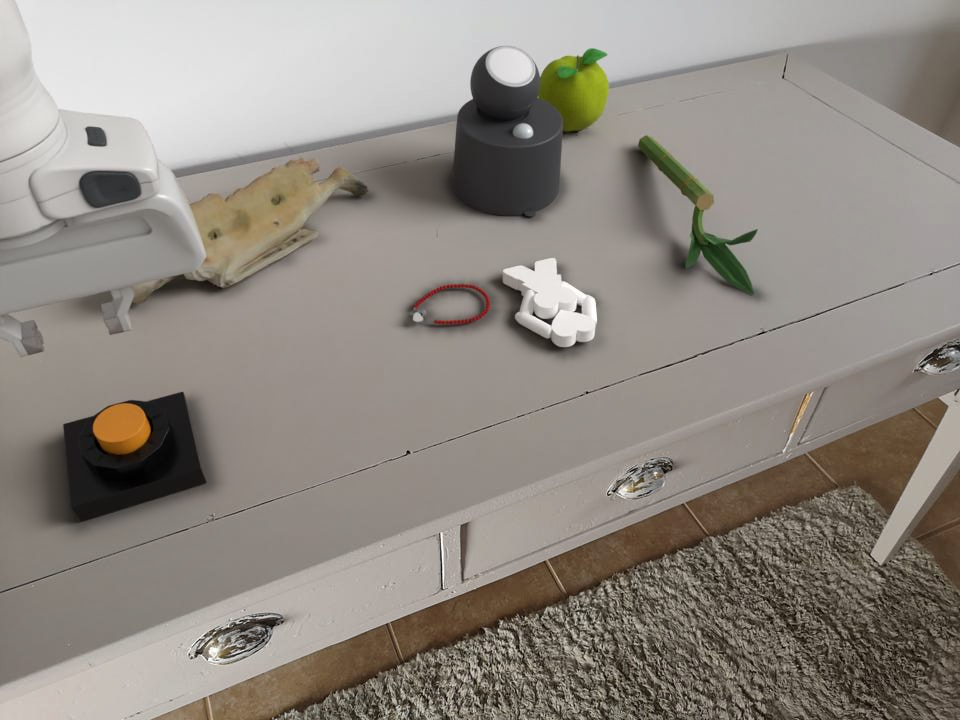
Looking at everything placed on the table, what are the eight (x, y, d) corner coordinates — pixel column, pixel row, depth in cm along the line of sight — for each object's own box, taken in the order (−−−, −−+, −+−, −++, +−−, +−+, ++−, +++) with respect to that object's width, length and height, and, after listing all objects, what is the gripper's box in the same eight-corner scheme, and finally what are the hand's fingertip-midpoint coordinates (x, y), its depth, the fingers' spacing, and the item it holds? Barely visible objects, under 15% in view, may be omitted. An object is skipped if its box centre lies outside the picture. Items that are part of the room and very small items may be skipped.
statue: (315, 150, 95) (104, 294, 82) (317, 109, 89) (89, 258, 75) (375, 204, 94) (171, 359, 80) (382, 167, 87) (161, 328, 74)
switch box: (80, 522, 62) (62, 495, 59) (71, 439, 68) (54, 410, 65) (207, 483, 65) (195, 455, 62) (189, 406, 71) (178, 377, 68)
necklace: (417, 335, 78) (417, 328, 77) (401, 297, 82) (400, 289, 81) (498, 317, 80) (498, 310, 79) (478, 280, 84) (479, 273, 83)
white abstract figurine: (538, 355, 76) (539, 338, 75) (491, 288, 84) (491, 272, 83) (617, 333, 79) (620, 316, 77) (564, 270, 87) (565, 254, 86)
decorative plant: (675, 131, 102) (790, 231, 78) (658, 190, 107) (761, 302, 83) (632, 127, 101) (736, 227, 77) (616, 187, 105) (709, 299, 81)
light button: (102, 461, 62) (95, 448, 61) (97, 424, 65) (90, 411, 63) (154, 446, 63) (148, 433, 62) (147, 410, 66) (141, 397, 65)
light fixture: (486, 103, 78) (435, 42, 87) (480, 230, 90) (436, 165, 99) (601, 81, 82) (541, 25, 91) (581, 206, 94) (530, 145, 103)
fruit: (616, 128, 107) (629, 58, 99) (568, 151, 102) (578, 79, 95) (569, 101, 111) (578, 32, 104) (521, 122, 107) (527, 51, 100)
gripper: (-222, 243, 40) (-90, 411, 51) (182, 167, 47) (228, 330, 57) (-205, 178, 44) (-85, 346, 54) (166, 115, 50) (212, 277, 61)
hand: (77, 337), depth 56 cm, fingers open, 4 cm apart
